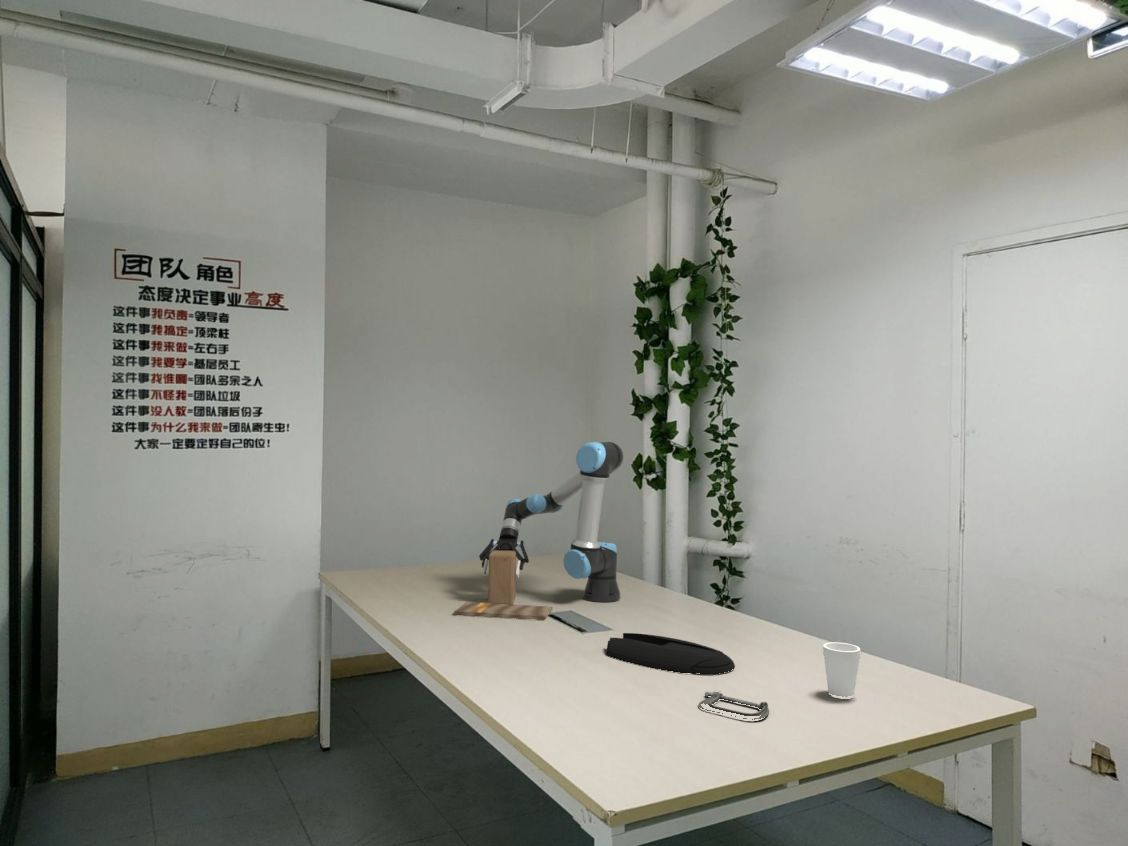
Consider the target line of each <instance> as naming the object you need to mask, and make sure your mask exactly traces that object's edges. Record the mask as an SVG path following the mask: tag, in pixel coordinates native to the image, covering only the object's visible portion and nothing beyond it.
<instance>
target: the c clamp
mask: <svg viewBox="0 0 1128 846" xmlns="http://www.w3.org/2000/svg"><path fill="white" fill-rule="evenodd" d="M715 691H716V690H714V691H705V693H704V697H705V696H706V697H708V696H711V697H709V698H706V697H705V699H702V700H701V701H700V702H699V703H698V704H699V707H700V708H702V709H704V708H703V707H702V706H701V704H703V703H704V704H705V705H706V704H708V705H709V706H710V707H712V708H715V709H719V710H723V711H726V712H731V713H736V714H740V715H744V716H760V715H761V716H760V717H759V718H754V720H755V719H761V718H764V717H766V716H767V715H768V716H769V714H770V708H769V705H768V702H766V701H761V702H759V703H756V702H754V701H748V700H743V699H740V698H735V697H732V696H727V695H724V694H723V693H722V692H715ZM719 699H724V700H728V701H732V702H738V703H741V704H746V705H750V706H755V707H758V708H759V709H761V710H759V711H757V712H752V713H751V712H750V713H749V712H742V711H737V710H733V709H730V708H725V707H722V706H721V707H720V706H718V705H717V706H716V705H712V704H714V703H715V702H717V701H718V700H719ZM699 707H698V708H699ZM758 708H757V709H758ZM705 710H707V709H705ZM707 711H711V710H707ZM712 712H715V711H712ZM717 713H720V712H717ZM722 714H723V713H722ZM731 716H732V715H731ZM768 716H767V717H768ZM735 717H736V716H735ZM767 717H766V718H767ZM743 719H747V718H743ZM752 720H753V719H752Z"/></svg>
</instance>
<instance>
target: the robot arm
mask: <svg viewBox="0 0 1128 846" xmlns="http://www.w3.org/2000/svg"><path fill="white" fill-rule="evenodd" d="M623 461H624V451H623V449H622V448H621V447H620V445H618V444H617V443H615V442H613V441H591V442H586V443H584V444H583V445H582V446H580V448H579V449H578V451H577V453H576V457H575V462H576V465H577V467H578V468H579V470H578V471H577V472H576V473H574V474H573V475H571V476H570V477H568V478H567V479H566V480H565V481H563V482H562V483H560V484H559V485H558V486H557V487H556V488H554V489H553V490H552V491H550V492H549V493H548V494H546V495H541V494H540V493H535V494H531V495H529V497H526V498H524V499H522V500H521V499H519V498H515V499H514V498H511V499H510V500H509V501H507V504H506V507H505V512H504V517H503V521H502V524H501V528H500V534H499V538H498V540H495V539H493V538H492V539H490V541H489V543H488V545H487V546H486V547H485V548H484V549H483V550H482V552H481V553H480V554H479V556H478V558H479V560H480V561H481V567H482V572H481V573H482V576H484V577H486V575H487V570H488V568H489V555H490V553H491V552H492V551H493V550H499V551H515V552H516V559H517V560H518V561H517V564H516V579H519V576H520V573H521V572H520V571H523V570H524V565H525V564H529V562H530V561H529V557H528V554H527V551H526V548H525V543H524V542H525V541H524V540H520V541H518V539H519V534H520V529H521V525H522V521H523V520H525V519H527V518H530V517H532V516H535V515H543V514H549V513H551V514H553V513H556V512H559V511H561V510H562V509H563V507H564V505H565V504H566V503H568V502H569V501H571V500H572V499H573V498H575V497H576V496H577V495H578V494H580V493H581V494H580V501H579V509H578V515H577V523H576V524H577V525H576V534H575V538H574V539H573V540H571V542H570V549H569V550H568V551H567V552H566V553H565V554H564V556H563V567H564V569H565V571H566V572H567V574H568V575H569V576H570V577H571V578H573V579H575V580H576V579H578V580H579V579H587V581H586V584H585V586H584V587H585V588H584V590H583V594H582V595H583V596H582V597H583V599H584V600H586V601H589V602H594V601H595V602H597V603H612V602H613V601H614V602H618V601H620V600H621V592H620V589H619V588H620V587H619V584H618V582H617V581H618V580H617V565H618V563H617V562H618V548H617V547H618V546H617V545H616V544H615V543H613V542H612V543H610V542H603V541H598V535H599V528H600V521H601V512H602V507H603V506H602V505H603V498H604V489H605V482H606V481H607V480H608V479H609V478H610V475H611V474H612V473H614V472H615V471H617V470H618V469H619V468H620V467H621V466H622V464H623ZM517 547H519V548H520V550H521V553H522V555H523V556H522V555H521V554H520V552H519V551H518V550H517ZM619 599H620V600H619ZM617 600H618V601H617Z"/></svg>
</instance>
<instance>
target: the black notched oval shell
mask: <svg viewBox="0 0 1128 846" xmlns="http://www.w3.org/2000/svg"><path fill="white" fill-rule="evenodd" d="M606 655H607V657H609V656H610V657H609V658H612V657H613V658H612V659H614V658H616V659H615V660H618V659H619V660H618V661H621V660H623V661H622V662H625V661H626V663H628V662H630V663H629V664H632V663H634V664H633V665H636V664H638V665H637V666H640V665H642V666H641V667H644V666H646V667H645V668H649V667H650V669H653V668H655V670H658V669H661V670H660V671H663V670H667V671H666V672H669V671H673V672H672V673H675V672H680V673H679V674H681V673H700V674H718V675H720V674H719V673H724V672H728V671H731V670H732V669H734V668H736V666H735V665H736V664H735V663H734V660H733V659H732V658H731V657H730V656H728V655H727V654H725V653H723V651H721V650H718V649H716V648H713V647H710V646H706V645H703V644H699V643H695V642H692V641H688V640H683V639H679V638H673V637H669V636H668V637H667V636H661V635H655V634H645V633H636V632H635V633H634V632H630V633H629V632H624V633H622V637H609V640H607V645H606ZM734 670H735V669H734ZM731 672H732V671H731Z"/></svg>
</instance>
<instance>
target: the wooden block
mask: <svg viewBox="0 0 1128 846" xmlns="http://www.w3.org/2000/svg"><path fill="white" fill-rule="evenodd" d="M492 550H493V549H492ZM492 550H491V551H492ZM516 570H517V557H516V552H515V551H499V550H493V551H492V552H491V553H490V555H489V560H488V580H487V581H488V583H487V585H488V587H487V593H488V594H487V603H494V604H512V605H514V602H515V600H516V579H517V577H516Z"/></svg>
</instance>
